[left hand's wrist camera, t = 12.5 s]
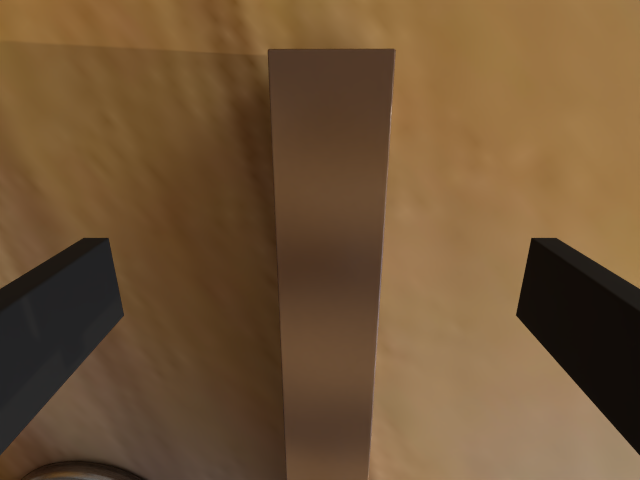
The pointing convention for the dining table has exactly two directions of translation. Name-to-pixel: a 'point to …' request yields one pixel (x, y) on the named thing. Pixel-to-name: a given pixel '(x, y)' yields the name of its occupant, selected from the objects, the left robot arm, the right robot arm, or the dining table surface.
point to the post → (329, 248)
